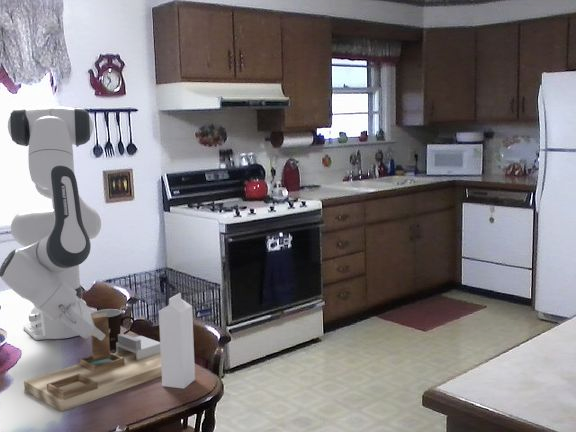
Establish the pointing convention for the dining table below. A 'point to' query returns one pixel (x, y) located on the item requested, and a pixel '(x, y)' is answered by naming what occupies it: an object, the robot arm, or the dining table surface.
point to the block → (101, 346)
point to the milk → (177, 343)
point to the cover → (138, 345)
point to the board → (93, 379)
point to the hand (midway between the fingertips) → (102, 334)
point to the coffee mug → (114, 324)
